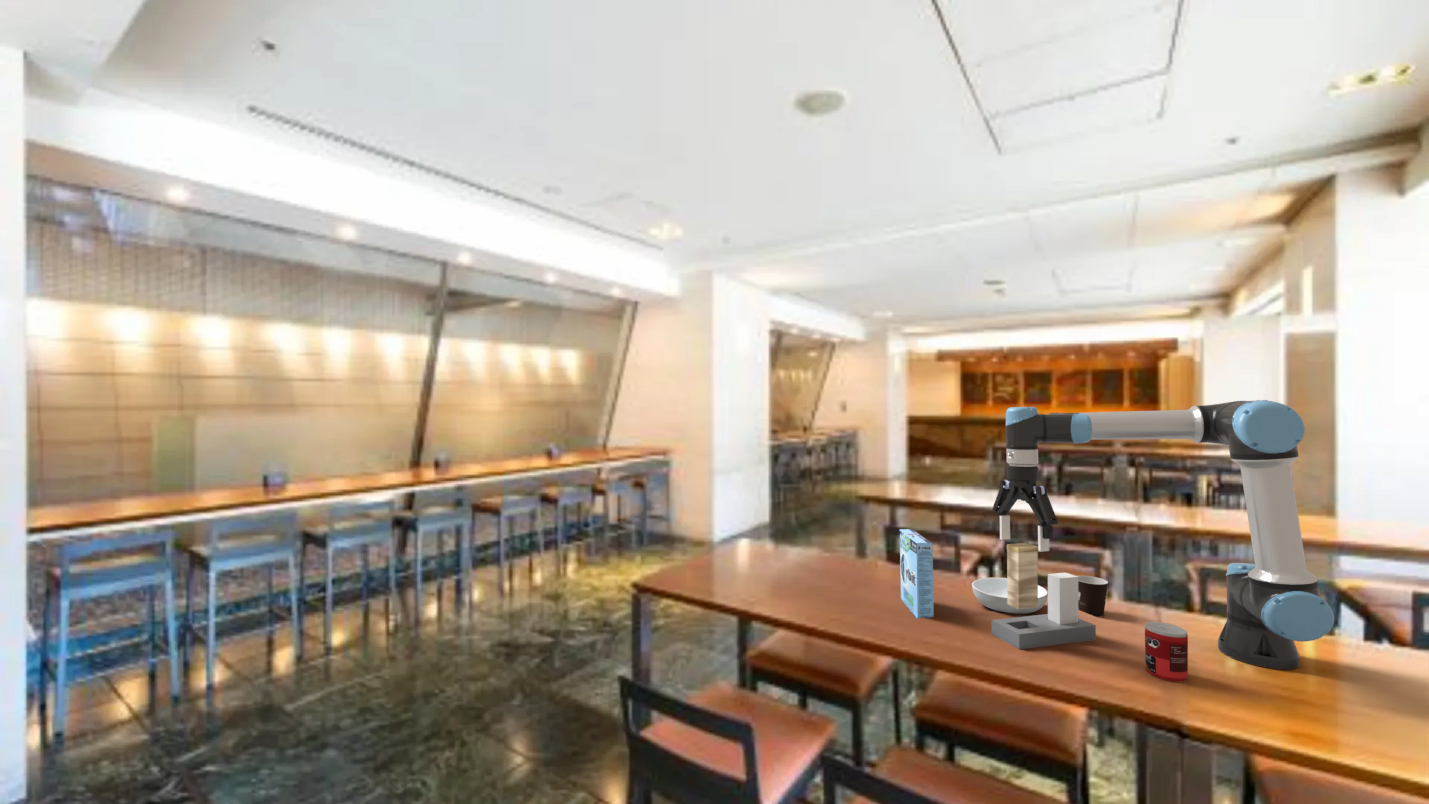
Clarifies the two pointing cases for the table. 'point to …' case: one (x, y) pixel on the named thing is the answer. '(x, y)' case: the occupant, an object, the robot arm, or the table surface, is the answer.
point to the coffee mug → (1092, 595)
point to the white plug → (1063, 598)
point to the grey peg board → (1041, 631)
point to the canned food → (1166, 651)
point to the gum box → (916, 573)
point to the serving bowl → (1002, 595)
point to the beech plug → (1022, 575)
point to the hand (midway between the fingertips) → (1023, 545)
